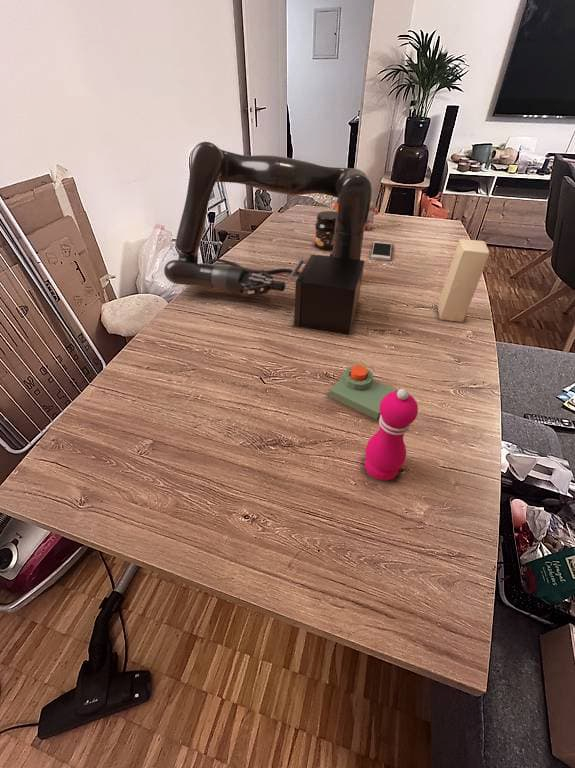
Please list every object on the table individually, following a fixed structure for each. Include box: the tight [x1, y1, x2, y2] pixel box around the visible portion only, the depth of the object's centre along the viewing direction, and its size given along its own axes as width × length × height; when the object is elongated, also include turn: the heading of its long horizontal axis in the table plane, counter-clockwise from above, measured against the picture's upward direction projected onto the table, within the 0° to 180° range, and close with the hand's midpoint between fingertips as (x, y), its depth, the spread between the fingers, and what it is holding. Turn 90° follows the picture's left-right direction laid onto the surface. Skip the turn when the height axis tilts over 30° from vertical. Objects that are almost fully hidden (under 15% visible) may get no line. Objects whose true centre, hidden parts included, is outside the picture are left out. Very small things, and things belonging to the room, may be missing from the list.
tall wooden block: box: [437, 238, 490, 323], centre depth 105 cm, size 8×7×21 cm
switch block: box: [328, 365, 397, 421], centre depth 84 cm, size 12×10×4 cm
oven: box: [299, 254, 365, 336], centre depth 107 cm, size 14×18×14 cm
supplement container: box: [313, 210, 338, 251], centre depth 146 cm, size 10×10×12 cm
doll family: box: [331, 198, 380, 231], centre depth 161 cm, size 21×10×13 cm, turn 65°
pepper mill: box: [364, 388, 419, 481], centre depth 65 cm, size 7×7×20 cm
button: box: [350, 364, 368, 381], centre depth 85 cm, size 4×4×2 cm
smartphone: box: [370, 240, 393, 261], centre depth 146 cm, size 7×16×1 cm, turn 166°
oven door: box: [287, 254, 318, 328], centre depth 109 cm, size 4×18×14 cm, turn 164°
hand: (284, 286), depth 110 cm, fingers closed
